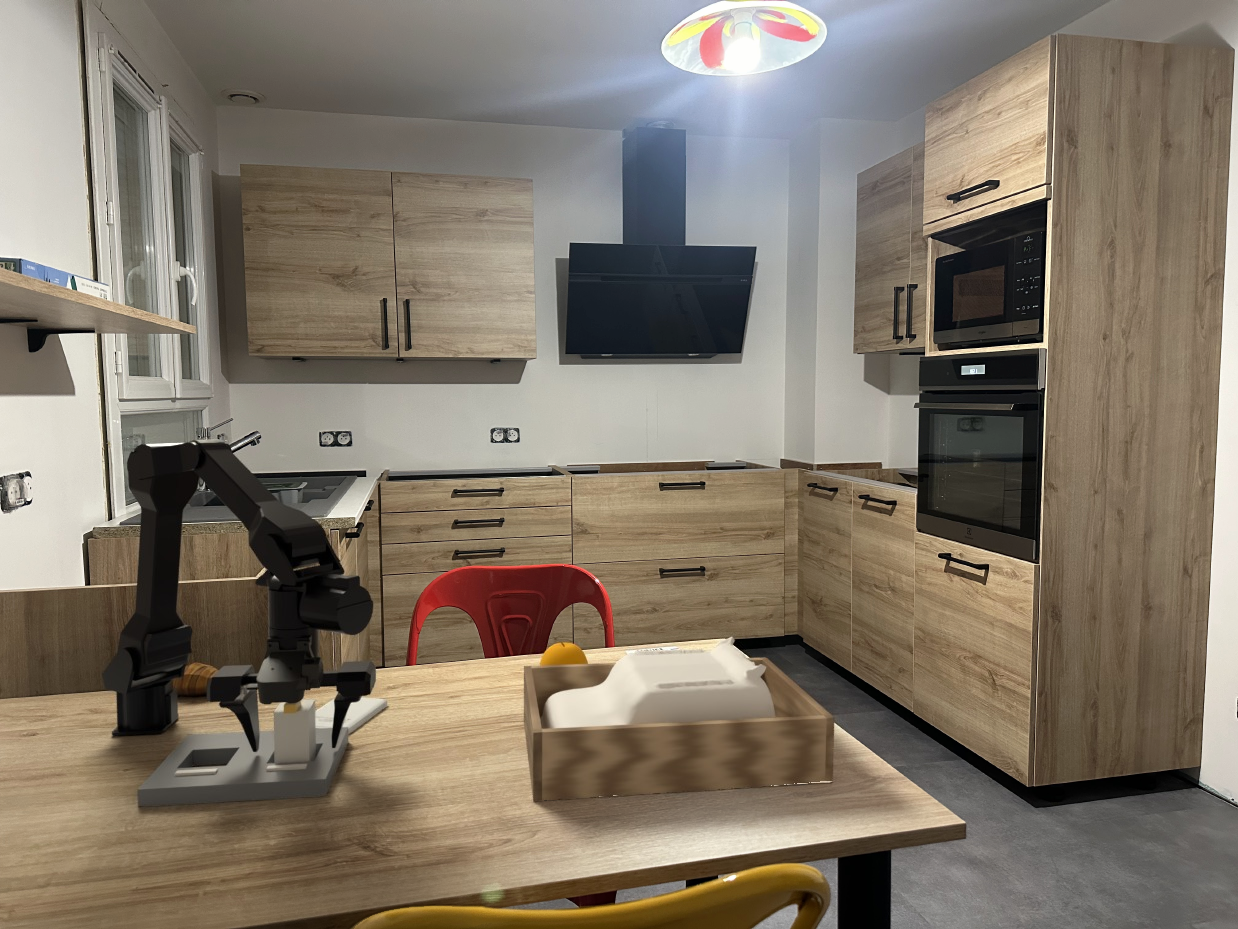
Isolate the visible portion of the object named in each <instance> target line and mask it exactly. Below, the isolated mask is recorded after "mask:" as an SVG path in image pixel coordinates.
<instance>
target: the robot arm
mask: <svg viewBox="0 0 1238 929" xmlns="http://www.w3.org/2000/svg"><path fill="white" fill-rule="evenodd" d="M126 470H127V476H128V479H127V480H128V490H130V492H131V493H132V496H133V497H134V498H135V500H136V502H137V503H138V505H139V506H140V523H139V524H140V525H139V527H140V528H139V543H138V545H139V546H138V560H137V577H136V578H137V579H136V582H137V583H136V595H135V608H134V609H135V610H134V613H133V614H132V615H131V617H130V619H129V620H128V622H127V623H126V624H125V626H124V627H123V629H122V630H121V632H120V635H119V641H118V646H117V652H116V653H115V656H113V658H112V659H111V660H110V662H109V663H108V665H107V666H106V668H105V669H104V670H103V672H102V674H101V677H102V681H103V686H104V689H105V690H109V691H112V692H115V696H116V727H115V728H114V729H113V730H112V731H111V736H129V735H133V736H134V735H150V734H151V735H152V734H153V735H154V734H163V733H164V732H165V731H166V730H167V729H168V728H169V727H170V726H172V724H173V723H174V722H176V720H177V719H178V718H179V711H178V710H179V708H178V705H179V704H178V695H177V690H176V689H173V679H175V678H181V677H183V676H184V672H185V667H186V666H187V663H188V659H189V656H190V654H192V653H193V650H192V635H193V629H192V626H191V625H187V624H186V623H184V621H183V619H182V618H181V616H180V614H179V613H178V600H179V599H178V596H179V581H180V568H181V567H180V566H181V551H182V536H183V535H182V534H183V519H184V509H185V508H186V507H187V505H188V504H189V503H190V502H191V499H192V498H193V497H194V495H195V494H196V493H197V491H198V488H199V482H200V479H201V481H203V482H204V484H206V486H207V487H208V488H209V489H210V490H211V491H212V492H213V493H214V494H215V496H216V497H217V498H218V499H219V500H220V501H221V502H222V503H223V504H224V505H225V507H226V508H228V509H229V511H230V512H231V513H232V514H233V515H234V516H235V517H236V518H237V519H238V520H239V521H240V523H241V524H242V525H243V526H244V527H245V529H246V530H247V533H248V546H249V547H250V548H251V550H252V553H254V555H255V556H256V558H257V560H258V561H259V563H260V564H261V565H262V567H263V568H264V569H265V571H264V572H263V573H262V574H261V575H259V577H258V578H256V579H255V582H254V583H255V585H256V586H259V587H265V588H267V604H268V605H267V611H268V614H267V615H268V619H267V620H268V622H267V623H268V626H267V627H268V637H267V639H266V642H267V643H266V652H265V654H264V657H263V660H262V663H261V666H260V668H259V670H258V672H257V673H255V668H254V665H252V664H242V665H238V664H237V665H223V666H222V667H221V668H220V669H218V670H219V671H218V672H217V673H216V674H215V675H214V676H213V677H212V678H211V679H210V680H209V681H208V684H207V695H206V702H209V703H218V706H219V708H220V709H228V710H229V711H231V712H232V713H234V714H235V716H236V718H237V719H238V720H237V721H239V723H240V724H241V725H240V726H241V727H242V729H243V732H245V734H246V737H247V739H248V741H249V744H250V746H251V748H252V751H253V752H257V751H258V749H259V738H260V733H259V731H260V717H259V703H260V704H262V705H271V704H276V703H279V704H280V703H281V702H287V703H289V704H291V703H297V702H299V701H301V700H304V698H305V691H311V690H312V689H320V688H327V687H329V688H336V692H337V693H336V696H335V698H333V699H334V708H335V709H334V719H333V728H332V748H336V745H337V742H338V739H339V736H340V733H341V730H342V727H343V724H344V720H345V717H346V714H347V711H348V709H349V706H350V704H351V703H353V702H358V701H360V699H361V697H366V696H370V695H371V694H372V691H373V689H374V686H375V684H376V681H377V667H376V665H375V663H373V662H372V660H356V661H355V660H353V661H343V662H342V664H341V665H340V667H339V669H338V670H324V664H323V660H322V657H320V650H319V649H320V639H319V638H320V635H319V634H320V631H324V632H331V633H336V634H342V635H346V636H347V635H348V636H355V635H359V634H360V633H363V631H364V630H365V629H366V628H367V627H368V625H369V624H370V621H371V620H372V617H373V612H374V601H373V600H372V596H371V594H370V593H369V591H368V590H367V588H365V587H363V586H361V577H360V576H359V575H356V574H355V575H354V574H349V575H345V572H346V571H345V568H344V567H343V566H342V563H341V560H340V558H339V557H338V556H337V554H336V552H335V551H334V548H333V546H332V544H331V543H330V541H329V539H328V537H327V532H326V531H325V529H324V527H323V526H322V525H321V523H319V521H317V520H315V519H314V518H312V516H310V515H308V514H307V513H305V512H304V511H302V510H299V509H297V508H294V507H291V506H289V505H287V504H284V503H283V502H282V501H280V500H279V499H278V498H277V497H276V496H275V495H274V493H272V492H271V491H270V490H269V489H268V488H267V487H266V486H265V485H264V484H263V483H262V481H260V479H258V478H257V477H256V475H254V474H253V472H252V471H251V470H250V469H249V468H248V467H247V466H246V465H245V464H244V463H243V462H242V461H241V460H240V459H239V458H238V457H237V456H236V455H235V453H233V450H232V447H231V445H230V444H229V442H227V441H225V440H222V439H218V438H217V439H215V438H214V439H193V440H189V441H187V442H171V443H168V442H167V443H142V444H139V445H137V446H136V447H135V448H134V449H133V450H132V451H130V453H129V455H128V457H127V462H126ZM317 564H318V565H317ZM258 700H259V701H258Z"/></svg>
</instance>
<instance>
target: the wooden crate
mask: <svg viewBox="0 0 1238 929" xmlns="http://www.w3.org/2000/svg"><path fill="white" fill-rule="evenodd" d="M746 658H747V659H748V660H749V661H751V662H754V663H755V666H758V665H760V664H762V665H764V666H765V667H766V669H765V672H764V673H763V674H762V675H761V676H760V678H761V679H762V680H763V681H764V682H765V683H766V685H767V687H768V689H769V692H770V695H771V698H772V701H773V705H774V710H775V717H776V718H757V719H736V720H716V721H695V722H674V723H654V724H633V725H612V726H592V727H571V728H550V729H542V727H541V722H540V718H541V717H542V715H543V710H544V706H545V703H546V701H547V700H548V698H549V697H550V696H552V695H553V694H555V693H558V692H561V691H566V690H572V689H581V688H589V687H594V686H597V685H600V684H602V683H603V682H604V681H605V680H606V679H607V677H608V676H609V674H610V672H611V670H612V668H613V667H614V665H615V664H616V663H617V662H604V663H601V662H600V663H588V664H573V665H545V666H540V665H528V666H527V665H526V666H525V665H524V666H523V726H524V727H523V728H524V735H525V742H526V751H527V760H528V767H529V768H528V769H529V775H530V776H529V777H530V778H529V780H530V784H531V785H530V786H531V794H532V795H533V796H532V802H545V801H544V800H547V801H559V800H558V799H563V800H574V799H575V800H577V799H576V798H579V799H591V798H590V797H596V798H600V797H599V796H612V797H614V796H613V795H628V796H635V795H634V794H644V795H654V794H653V793H660V794H668V793H667V792H677V793H687V791H693V792H704V791H705V790H706V792H707V791H708V790H709V791H720V790H721V789H725V790H735V789H734V788H741V789H750V788H749V787H757V788H763V787H762V786H771V785H772V786H774V785H784V784H786V785H787V784H794V783H795V784H797V783H809V782H810V783H811V782H820V781H833V782H834V754H835V753H834V752H835V751H834V750H835V749H834V748H835V747H834V746H835V718H836V717H834V715H832V714H831V713H830V712H828V711H827V709H825V708H824V707H823V706H822V705H821V704H820V703H818V702H817V701H816V700H815V699H814V698H813V697H812V696H810V694H808V693H807V692H806V691H805V690H804V689H802V688H801V687H800V686H799V685H798V684H797V683H795V681H793V680H792V679H791V678H790V677H789V676H788V675H787V674H785V672H784V671H782V670H781V669H780V668H779V667H778V666H777V665H776V664H774V663H773V662H772V661H771V660H769V658H767V657H746ZM746 787H747V788H746ZM774 787H775V786H774ZM731 788H733V789H731ZM718 789H720V790H718ZM701 790H702V791H701ZM683 791H684V792H683ZM721 791H722V790H721ZM649 793H650V794H649Z"/></svg>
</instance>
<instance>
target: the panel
mask: <svg viewBox="0 0 1238 929" xmlns="http://www.w3.org/2000/svg"><path fill="white" fill-rule="evenodd" d="M259 733H260V738H259V749H258V751H257V752H253V751H252V748H251V746H250V744H249V741H248V739H247V737H246V734H245V732H244V731H238V732H237V731H236V732H216V733H215V732H214V733H213V732H212V733H194V734H193V733H191V734H187V735H186V736H185V738H184V739H183V740H182V741H181V742H180V743H179V744H178V745H177V746H176V747H175V748H174V750H173V751H172V752H171V753H170V754H169V755H168V756H167V757H166V758H165V759H164V760H163V761H162V762H161V763H160V765H158V767H157V768H156V769H155V770H154V771H152V773H151V774H150V775H149V776H148V777H147V779H146V780H145V781H144V782H143V783H141V785H140V786H139V787H138V788H137V807H138V806H147V807H159V806H160V805H161V807H163V806H162V805H164V806H177V805H178V806H179V805H180V806H181V805H193V804H194V805H195V804H197V805H198V804H212V803H228V802H229V803H230V802H245V801H262V800H263V801H264V800H265V801H266V800H278V799H279V800H280V799H283V800H284V799H295V798H298V799H300V798H312V797H313V798H315V797H326V796H327V793H328V791H329V789H330V786H331V784H332V782H333V779H334V777H335V774H336V773H337V769H338V768H339V765H340V762H341V760H342V758H343V755H344V753H345V751H346V749H347V746H348V743H349V734H348V727H342V730H341V733H340V736H339V739H338V742H337V745H336V748H332V728H317V729H316V759H315V761H309V762H290V763H274V730H259ZM225 764H226V765H225ZM205 765H206V766H205ZM209 765H210V766H209ZM211 765H213V766H211ZM214 765H217V766H214ZM193 766H195V767H193ZM196 766H197V767H196ZM198 766H199V767H198Z"/></svg>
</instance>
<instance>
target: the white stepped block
mask: <svg viewBox="0 0 1238 929" xmlns="http://www.w3.org/2000/svg"><path fill="white" fill-rule="evenodd" d="M735 641H736V640H735V639H734V637H733V636H730V637H729V638H725V639H722V640H720V641H718V642H717V643H716V645H715V648H713V649H710V650H708V649H706V650H703V649H702V648H695V649H693V648H692V649H662V650H656V649H655V650H635V651H634V652H631V653H627V654H625V655H624V656H622V657H621V658H619V660H617V661H616V662H615V663H616V664H615V665H614V667H613V668H612V670H611V672H610V674H609V676H608V677H607V679H606V680H605V681H604V682H603V683H602V684H600V685H597V686H594V687H589V688H581V689H572V690H566V691H561V692H558V693H555V694H553V695H552V696H550V697H549V698H548V700H547V701H546V703H545V706H544V710H543V715H542V717H541V718H540V722H541V727H542V729H550V728H571V727H592V726H612V725H633V724H654V723H674V722H695V721H716V720H736V719H757V718H776V717H775V710H774V705H773V701H772V698H771V695H770V692H769V689H768V687H767V685H766V683H765V682H764V681H763V680H762V679H761V678H760V676H761V675H762V674H763V673H764V672H765V669H766V667H765V666H764V665H762V664H760V665H758V666H755V663H754V662H751V661H749V660H748V659H747V658H748V657H746V656H745V654H744V653H743V652H742V651H740V650H739V649H738V648H736V646H734V643H735Z"/></svg>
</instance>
